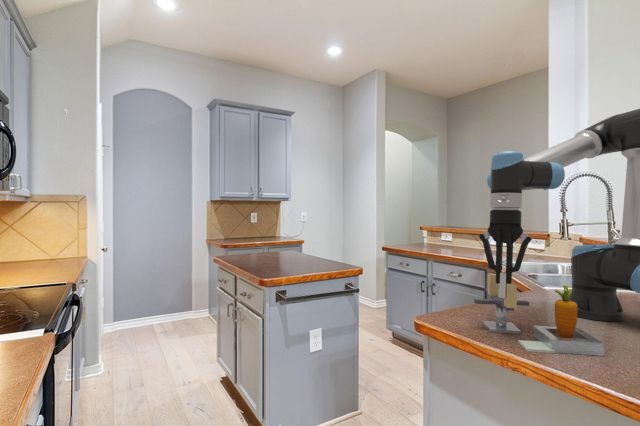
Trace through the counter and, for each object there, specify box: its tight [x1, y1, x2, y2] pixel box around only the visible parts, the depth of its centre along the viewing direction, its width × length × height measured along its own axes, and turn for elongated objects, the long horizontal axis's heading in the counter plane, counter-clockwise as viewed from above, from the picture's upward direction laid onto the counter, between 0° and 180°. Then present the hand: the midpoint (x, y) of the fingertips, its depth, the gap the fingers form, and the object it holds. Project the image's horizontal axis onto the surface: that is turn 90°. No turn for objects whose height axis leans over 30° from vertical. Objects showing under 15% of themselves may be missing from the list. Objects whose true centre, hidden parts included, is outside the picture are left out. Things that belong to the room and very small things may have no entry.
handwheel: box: [473, 273, 530, 312], centre depth 102 cm, size 16×14×8 cm
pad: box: [517, 339, 556, 354], centre depth 87 cm, size 6×6×1 cm
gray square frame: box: [532, 325, 605, 357], centre depth 89 cm, size 11×11×3 cm
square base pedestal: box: [482, 305, 522, 335], centre depth 102 cm, size 8×8×7 cm
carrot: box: [554, 284, 578, 338], centre depth 89 cm, size 5×5×15 cm
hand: (503, 296), depth 95 cm, fingers closed
